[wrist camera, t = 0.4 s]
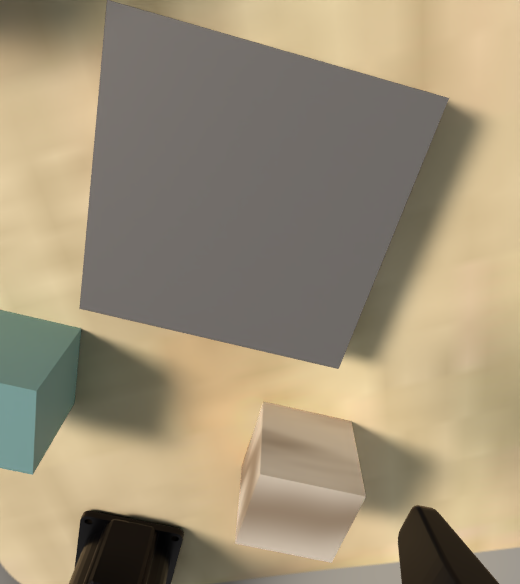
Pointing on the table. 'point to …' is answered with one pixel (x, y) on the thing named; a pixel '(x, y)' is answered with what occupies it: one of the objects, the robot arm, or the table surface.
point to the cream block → (299, 483)
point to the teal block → (34, 386)
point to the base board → (243, 186)
